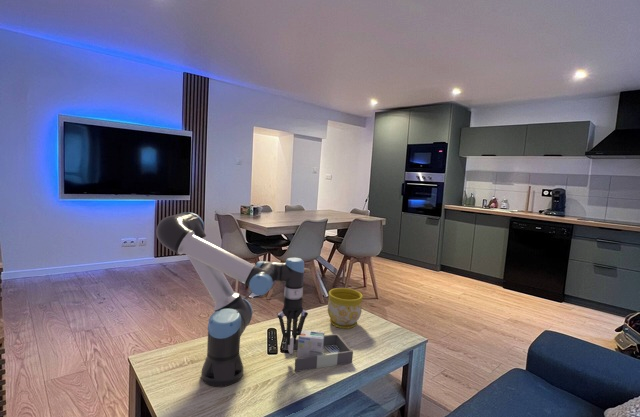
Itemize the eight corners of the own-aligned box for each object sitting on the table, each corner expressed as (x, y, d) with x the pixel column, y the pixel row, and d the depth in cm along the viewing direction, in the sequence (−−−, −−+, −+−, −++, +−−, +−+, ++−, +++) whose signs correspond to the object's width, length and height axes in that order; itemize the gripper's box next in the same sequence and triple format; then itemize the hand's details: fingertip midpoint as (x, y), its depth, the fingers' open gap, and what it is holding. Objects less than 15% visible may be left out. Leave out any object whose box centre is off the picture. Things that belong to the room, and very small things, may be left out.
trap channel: (295, 371, 130) (295, 359, 130) (284, 350, 144) (285, 340, 144) (352, 362, 139) (353, 351, 139) (336, 344, 154) (337, 333, 153)
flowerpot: (343, 335, 163) (346, 303, 161) (319, 321, 176) (321, 291, 174) (367, 325, 175) (370, 295, 173) (342, 313, 188) (345, 285, 186)
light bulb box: (323, 354, 144) (325, 331, 142) (322, 363, 137) (323, 338, 136) (298, 352, 144) (300, 328, 143) (296, 360, 138) (298, 336, 137)
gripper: (280, 301, 128) (277, 358, 131) (311, 298, 133) (308, 354, 135) (275, 294, 135) (272, 349, 138) (305, 291, 140) (302, 345, 142)
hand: (290, 351), depth 137 cm, fingers closed
